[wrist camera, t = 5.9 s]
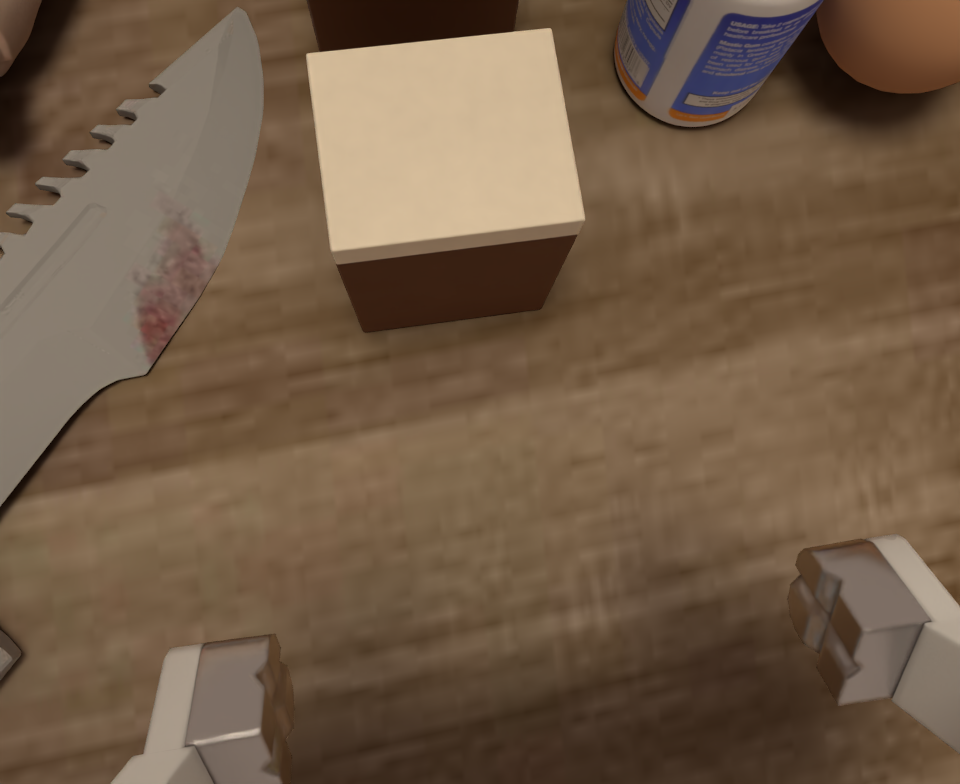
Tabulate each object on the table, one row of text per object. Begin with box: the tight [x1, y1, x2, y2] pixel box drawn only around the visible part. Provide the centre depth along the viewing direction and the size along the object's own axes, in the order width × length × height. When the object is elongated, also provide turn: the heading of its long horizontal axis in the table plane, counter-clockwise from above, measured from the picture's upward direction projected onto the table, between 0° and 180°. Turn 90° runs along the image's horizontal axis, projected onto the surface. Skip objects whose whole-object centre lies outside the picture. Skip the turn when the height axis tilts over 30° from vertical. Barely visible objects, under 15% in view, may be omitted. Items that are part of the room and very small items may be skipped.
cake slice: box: [306, 28, 585, 332], centre depth 22 cm, size 6×5×8 cm
